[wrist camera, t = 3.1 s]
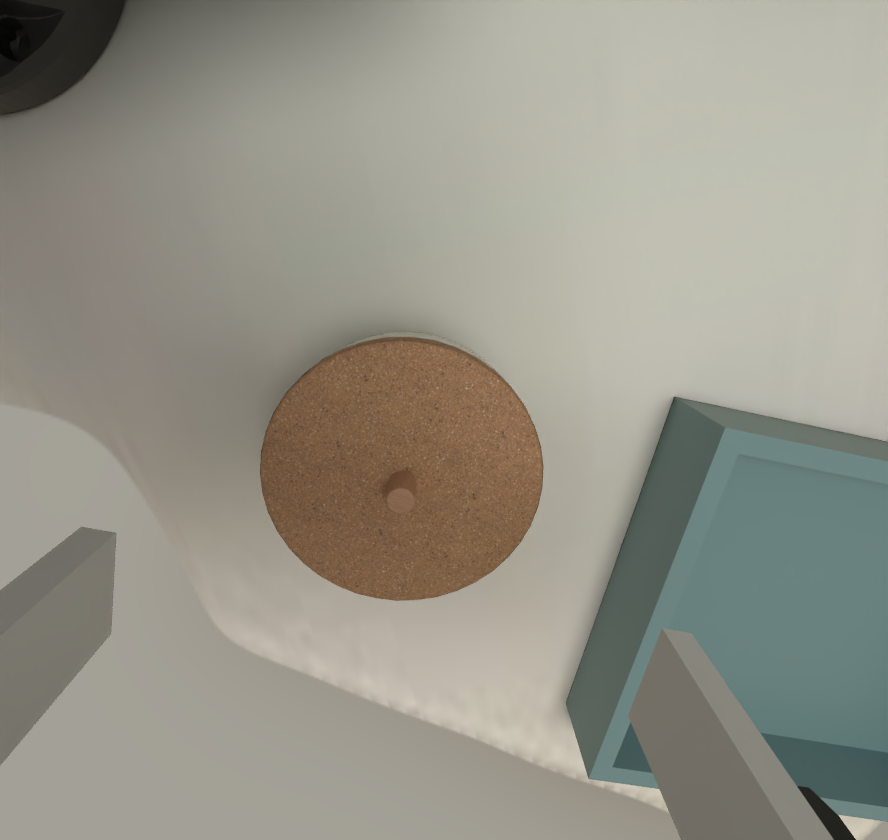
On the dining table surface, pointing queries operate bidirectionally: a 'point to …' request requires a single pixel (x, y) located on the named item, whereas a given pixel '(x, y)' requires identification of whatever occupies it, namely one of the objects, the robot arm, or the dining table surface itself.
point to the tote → (755, 598)
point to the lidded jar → (401, 467)
